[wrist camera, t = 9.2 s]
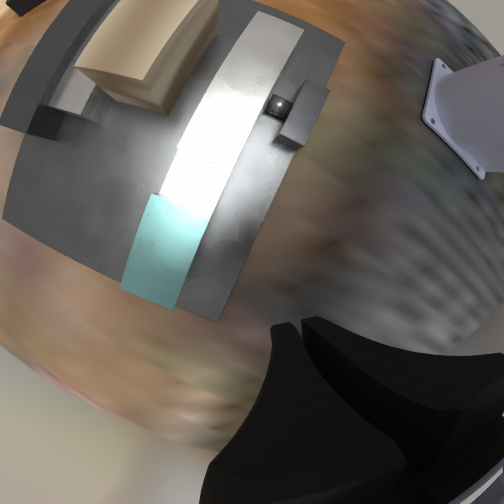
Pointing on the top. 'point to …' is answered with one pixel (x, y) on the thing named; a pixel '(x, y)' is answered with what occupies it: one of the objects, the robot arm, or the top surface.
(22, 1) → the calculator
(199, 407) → the top surface
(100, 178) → the vise base
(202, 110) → the sliding jaw
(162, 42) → the birch block
